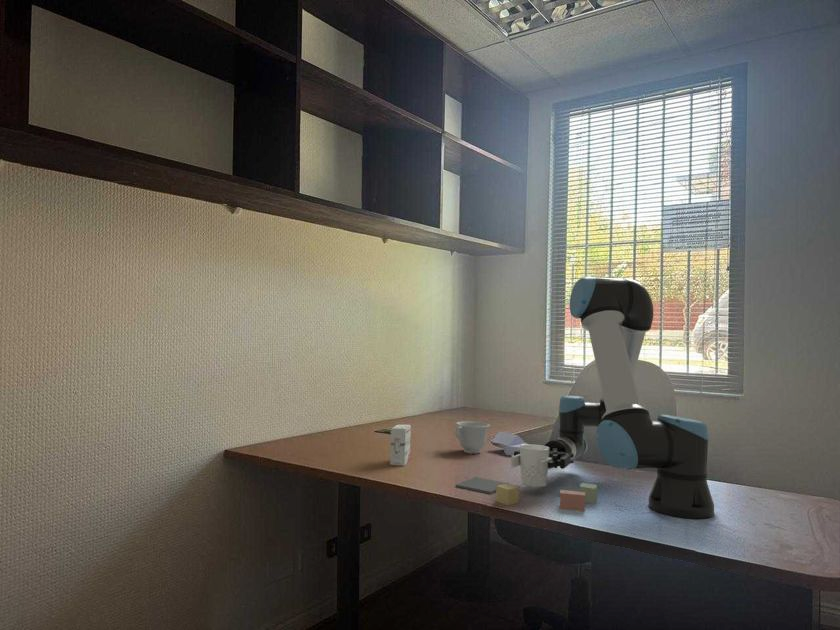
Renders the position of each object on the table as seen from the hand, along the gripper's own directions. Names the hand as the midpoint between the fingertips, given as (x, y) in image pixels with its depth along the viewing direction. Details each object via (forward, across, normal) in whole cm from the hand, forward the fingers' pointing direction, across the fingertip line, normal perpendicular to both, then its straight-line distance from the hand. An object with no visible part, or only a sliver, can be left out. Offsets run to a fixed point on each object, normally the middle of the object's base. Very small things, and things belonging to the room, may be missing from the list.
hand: (526, 464), depth 157 cm
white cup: (-5, 0, -6) cm, 8 cm away
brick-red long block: (+1, -13, -9) cm, 16 cm away
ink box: (-9, +48, -8) cm, 49 cm away
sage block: (-8, -14, -9) cm, 18 cm away
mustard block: (+7, +2, -9) cm, 11 cm away
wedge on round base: (-48, +27, -8) cm, 55 cm away
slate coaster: (-2, +14, -8) cm, 16 cm away
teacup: (-38, +39, -8) cm, 55 cm away
